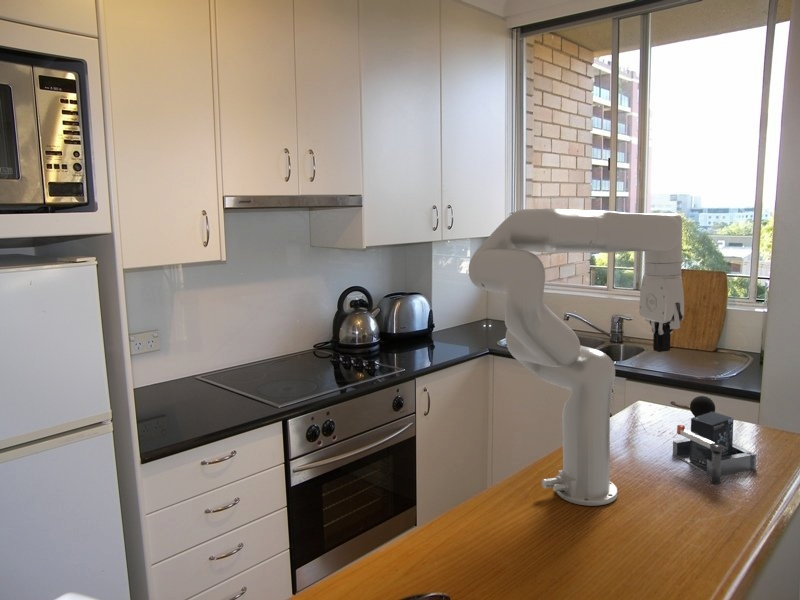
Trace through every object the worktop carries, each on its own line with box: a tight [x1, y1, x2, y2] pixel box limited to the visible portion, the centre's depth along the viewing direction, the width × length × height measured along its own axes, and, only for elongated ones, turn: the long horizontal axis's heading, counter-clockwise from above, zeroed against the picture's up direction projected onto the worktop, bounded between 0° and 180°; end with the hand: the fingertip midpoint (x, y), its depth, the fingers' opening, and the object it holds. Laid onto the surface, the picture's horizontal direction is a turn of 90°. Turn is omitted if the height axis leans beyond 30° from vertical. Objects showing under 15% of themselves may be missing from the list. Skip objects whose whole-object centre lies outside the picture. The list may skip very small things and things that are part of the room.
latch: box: [676, 424, 724, 452], centre depth 137 cm, size 13×3×2 cm, turn 17°
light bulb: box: [689, 395, 716, 417], centre depth 160 cm, size 6×6×10 cm
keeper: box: [672, 437, 757, 485], centre depth 141 cm, size 13×16×7 cm
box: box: [690, 411, 735, 467], centre depth 142 cm, size 8×6×11 cm
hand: (661, 350), depth 140 cm, fingers closed
